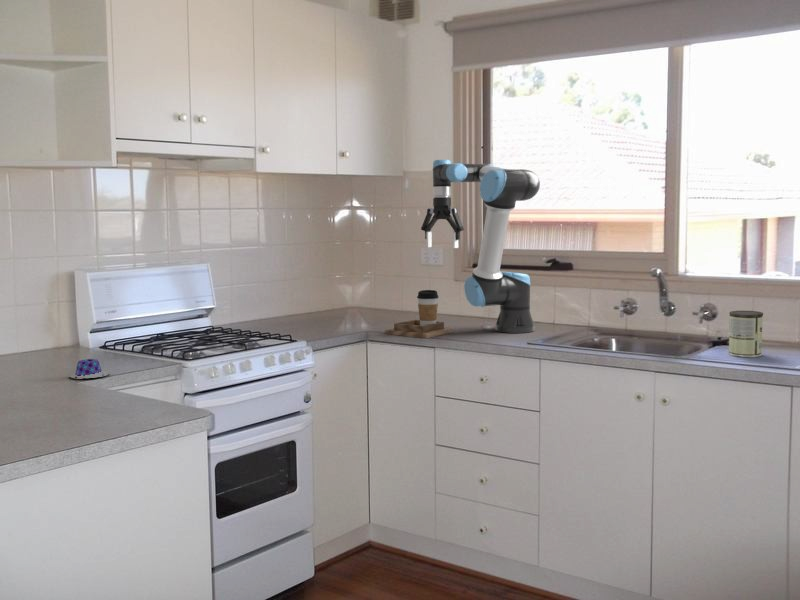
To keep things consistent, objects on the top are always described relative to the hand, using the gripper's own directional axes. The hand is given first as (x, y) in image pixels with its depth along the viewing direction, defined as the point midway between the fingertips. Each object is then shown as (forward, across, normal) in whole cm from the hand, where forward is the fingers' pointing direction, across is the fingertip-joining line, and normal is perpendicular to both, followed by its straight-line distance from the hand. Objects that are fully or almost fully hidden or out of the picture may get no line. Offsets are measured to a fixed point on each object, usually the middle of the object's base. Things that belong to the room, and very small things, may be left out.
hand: (442, 247), depth 373 cm
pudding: (+32, +23, +156) cm, 161 cm away
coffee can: (+32, -128, +11) cm, 132 cm away
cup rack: (+32, -10, +31) cm, 45 cm away
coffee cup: (+30, -13, +29) cm, 44 cm away
